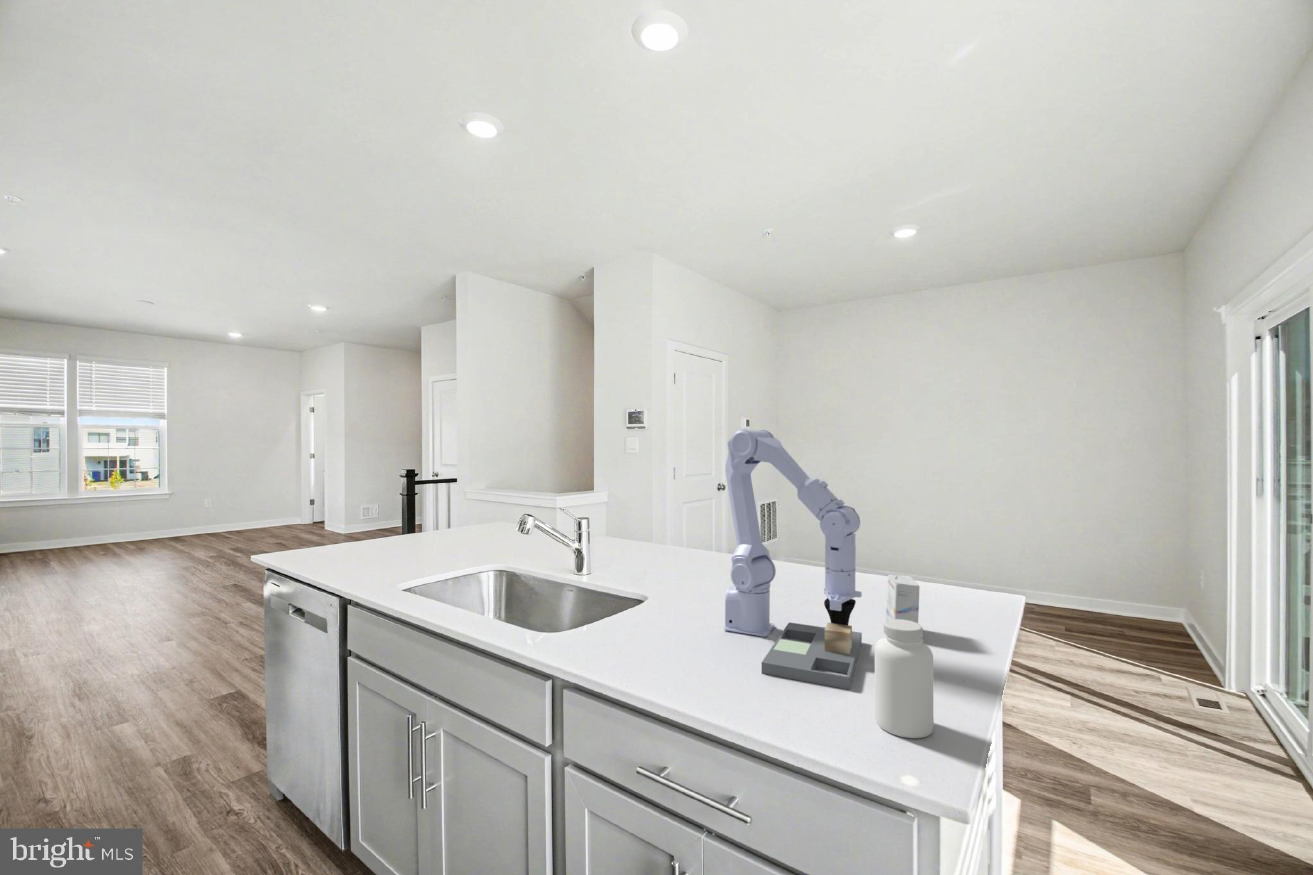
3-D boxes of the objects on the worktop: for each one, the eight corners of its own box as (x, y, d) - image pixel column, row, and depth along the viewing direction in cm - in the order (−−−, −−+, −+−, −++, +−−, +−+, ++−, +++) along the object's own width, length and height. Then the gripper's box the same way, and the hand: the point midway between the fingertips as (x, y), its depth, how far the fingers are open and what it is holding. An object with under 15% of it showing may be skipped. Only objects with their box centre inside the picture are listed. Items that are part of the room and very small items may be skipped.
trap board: (761, 673, 101) (761, 662, 101) (788, 631, 123) (788, 622, 123) (849, 689, 94) (849, 677, 94) (861, 642, 116) (861, 632, 116)
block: (824, 650, 106) (824, 629, 106) (827, 642, 110) (827, 622, 110) (849, 654, 104) (849, 633, 104) (851, 646, 109) (851, 625, 109)
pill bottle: (864, 713, 86) (865, 616, 86) (914, 711, 87) (915, 615, 87) (890, 741, 78) (891, 634, 78) (945, 739, 79) (945, 633, 79)
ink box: (885, 625, 127) (885, 573, 127) (910, 627, 126) (910, 574, 126) (893, 638, 118) (894, 583, 118) (919, 640, 117) (920, 584, 117)
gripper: (858, 578, 103) (857, 653, 103) (864, 562, 116) (864, 628, 116) (818, 574, 105) (818, 646, 106) (829, 559, 119) (828, 623, 119)
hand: (839, 636), depth 111 cm, fingers closed
